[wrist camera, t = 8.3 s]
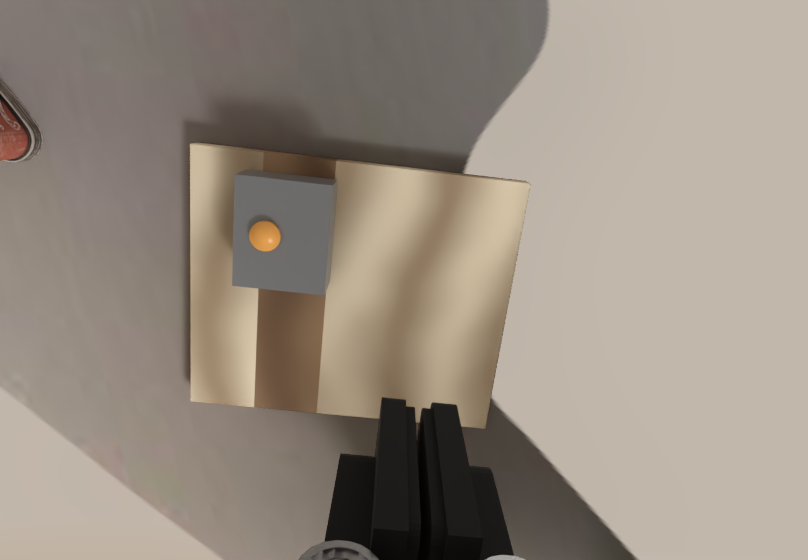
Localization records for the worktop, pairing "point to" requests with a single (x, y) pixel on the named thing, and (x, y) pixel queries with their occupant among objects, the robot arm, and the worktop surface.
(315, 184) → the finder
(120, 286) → the worktop surface
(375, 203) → the board
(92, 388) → the worktop surface
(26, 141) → the lighter
